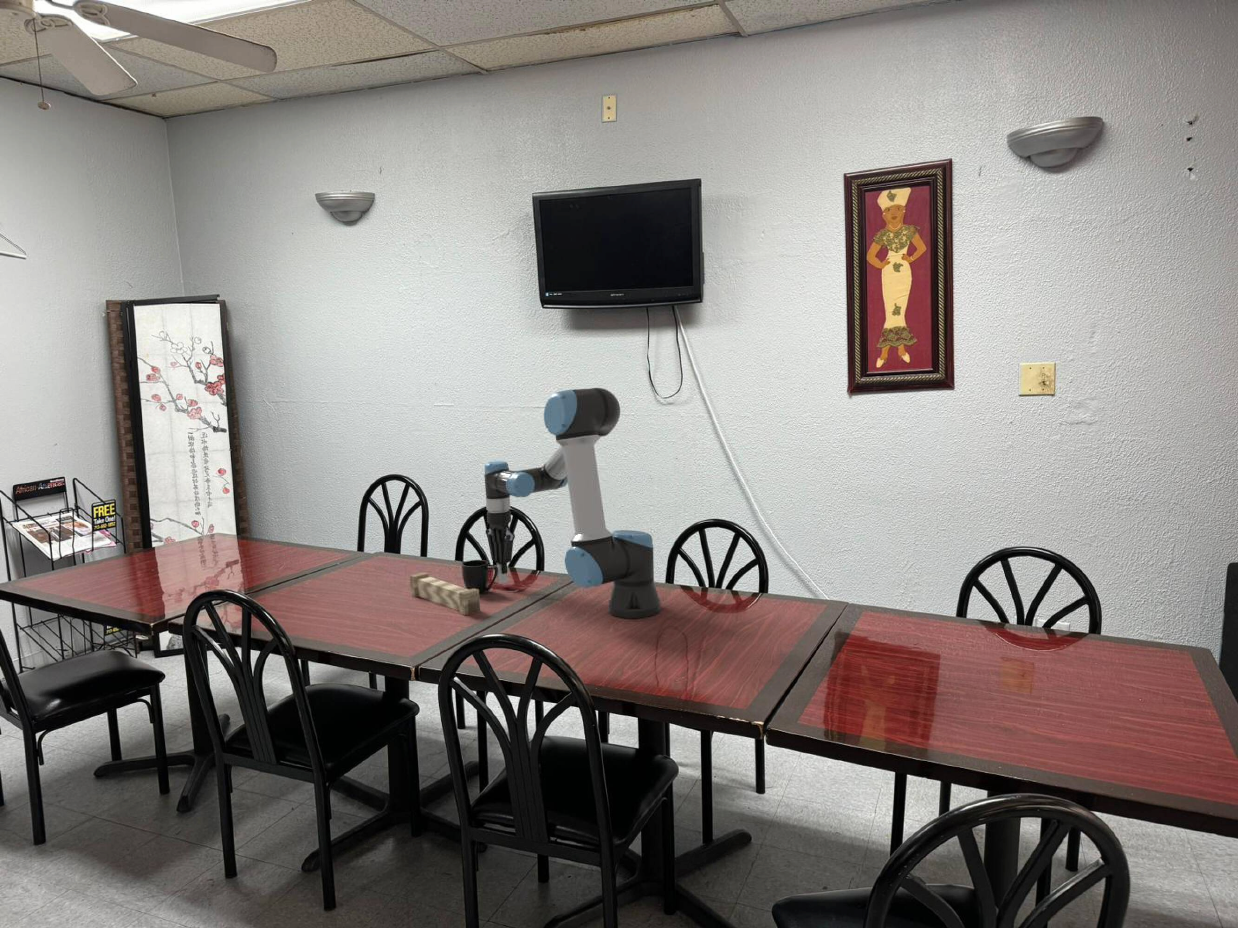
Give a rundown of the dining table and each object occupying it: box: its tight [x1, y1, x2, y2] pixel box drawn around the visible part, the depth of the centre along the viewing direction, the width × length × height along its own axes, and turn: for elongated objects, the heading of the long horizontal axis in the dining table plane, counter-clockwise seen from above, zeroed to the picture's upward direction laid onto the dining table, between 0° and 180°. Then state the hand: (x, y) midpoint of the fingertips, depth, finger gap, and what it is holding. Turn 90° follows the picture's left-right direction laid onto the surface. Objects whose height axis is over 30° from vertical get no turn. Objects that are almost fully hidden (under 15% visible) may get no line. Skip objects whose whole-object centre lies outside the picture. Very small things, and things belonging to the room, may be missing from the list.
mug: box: [461, 559, 498, 596], centre depth 276 cm, size 8×12×10 cm
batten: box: [409, 571, 481, 616], centre depth 267 cm, size 30×5×6 cm, turn 44°
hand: (502, 582), depth 282 cm, fingers closed
